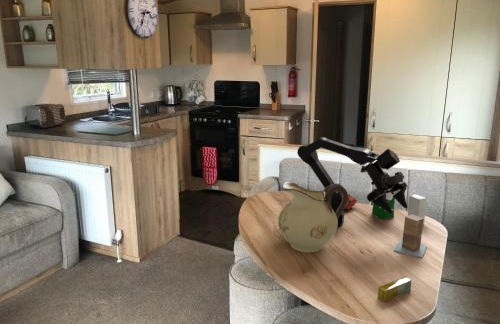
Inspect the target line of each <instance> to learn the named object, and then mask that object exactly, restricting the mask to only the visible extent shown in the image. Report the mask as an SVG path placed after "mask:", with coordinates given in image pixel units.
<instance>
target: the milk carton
mask: <svg viewBox="0 0 500 324" xmlns="http://www.w3.org/2000/svg"><path fill="white" fill-rule="evenodd" d="M384 173H385V174H388V172H386V171H384ZM392 187H393V186H392ZM374 189H377V188H376V186H375V185H374ZM388 191H389V190H388ZM394 195H395V194H394ZM386 200H387V202H388V204H389V206H390V207H391V210H392V213H391V214H390V213H389V212H387V211H386V210H384V209H383V208H381V207H380V206H378V205H376V204H375V203H372V209H371V215H372V216H374V217H377V218H378V219H380V220H387V219H388V220H389V219H391V218H395V201H396V199H395V198H394V197H393V194H391V193H388V194H386Z"/></svg>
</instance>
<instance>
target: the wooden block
mask: <svg viewBox="0 0 500 324" xmlns="http://www.w3.org/2000/svg"><path fill="white" fill-rule="evenodd" d="M423 220H424V221H425V219H424V218H421V217H418V216H415V215H412V214H411V215H408V214H407V215H406V216H404V225H403V232H402V233H403V234H402V247H403V248H405V249H408V250H410V251H412V252H415V251H417V250H419V249H420V245H422V243H421V242H422V235H423V227H424V224H423Z"/></svg>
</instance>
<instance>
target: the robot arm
mask: <svg viewBox="0 0 500 324" xmlns="http://www.w3.org/2000/svg"><path fill="white" fill-rule="evenodd" d="M319 149H324V150H328V151H330V152H333V153H335V154H338V155H341V156H344V157H346V158H348V159H349V160H351V161H352V162H353V163H356V164H357V165H359V166H361V168H360V173H367V175H368V176H369V178H370V181H371V182H370V185H371V186H374V187H375V186H376V188H377V189H375V188H374V189H373V190H371V191H370V192H369V193H368V194H366V199H367V201H368V203H372V204H373V203H375V204H376V205H378V206H380V207H381V208H383V209H384V210H386V211H387V212H389V213H390V214H391V213H392V210H391V207H390V206H389V204H388V202H387V200H386V194H388V193H391V194H393V197H394V198H395V201H396V202H398V204H400V206H402V207H403V208H404V209H408V204H407V200H406V195H405V193H406V190H407V189H408V185H407V183H406V182H405V181H404V179H405V175H404V174H403V172H402V171H397V172H394V175H391V176H390V174H385V173H384V172H385V171H384V170H386V171H388V170H390V169H391V168H393V167H394V166H396V165H397V164H399V163H400V162H401V160H400V157H399V156H398V155H397V153H395V152H394V151H393V150H391V149H390V148H389V147H388V148H387V149H385V150H384V151H383V152H382V153H381V154H378V153H375V152H372V150H370V149H368V148H366V147H357V146H356V147H355V146H350V145H346V144H344V143H341V142H338V141H335V140H332V139H329V138H326V136H325V137H324V136H322V137H320V138H318V139H317V140H315V141H313V142H311V143H309V142H308V143H305V144H302V145H301V146H299V147H298V148H297V150H296V151H297V152H296V154H297V156H298V157H299V158H300V159H301V161H302V162H303V163H305V164H307V165H308V166H309V167H310V169H311V170H312V172H313V173H314V174H315V176H316V177H317V179H318V181H319V182H320V183H321V185H322V187H323V188H324V189H325V188H326V187H327V186H329V185H333V184H336V183H335V182H334V180H333V178H331V176H330V174H329V173H328V171H327V170H326V169H325V167H324V166H323V164H322V163H321V161H320V159H319V155H318V151H317V150H319ZM392 186H393V187H392ZM388 190H389V191H388ZM394 194H395V195H394ZM348 196H349V195H348ZM342 198H343V196H342V193H341V192H340V191H335V192H334V193H333V194H332V197H331V206H332V209H333V211H334V212H335V213H336V211H337V209H338V208H339V206H340V204H341V202H342ZM348 203H349V197H348V201H347V203H346V205H347V204H348ZM337 221H338V226H337V228H340V227H341V226H343V224H344V223H345V213H344V209H343V210H342V212H341V214H340V215H339V217H338V220H337Z"/></svg>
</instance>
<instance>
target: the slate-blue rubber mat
mask: <svg viewBox="0 0 500 324" xmlns="http://www.w3.org/2000/svg"><path fill="white" fill-rule="evenodd" d="M402 241H403V239H402V240H401V239H399V240H398V242H397V244H396V246H395V247H394V249H393V252H396V253H399V254H403V255H409V256H411V257H416V258H420V259H423V258H424V255H425V253H426V250H427V247H428V246H427V245H424V244H420V249H419V250H417V251H415V252H412V251H410V250H408V249H405V248H403V247H402Z"/></svg>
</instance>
